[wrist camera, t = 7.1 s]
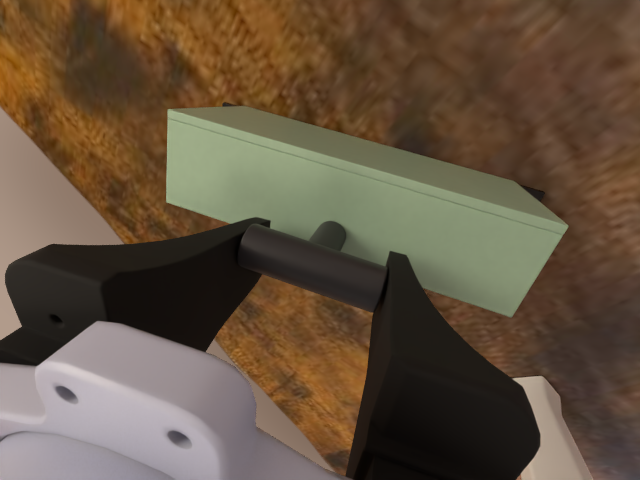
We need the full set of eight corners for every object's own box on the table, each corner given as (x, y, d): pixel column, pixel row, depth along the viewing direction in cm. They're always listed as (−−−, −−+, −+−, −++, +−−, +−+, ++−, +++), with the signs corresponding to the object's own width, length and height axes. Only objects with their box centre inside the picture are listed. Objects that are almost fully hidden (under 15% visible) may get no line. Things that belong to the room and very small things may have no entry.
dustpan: (515, 181, 17) (480, 248, 18) (244, 105, 19) (236, 172, 20) (635, 278, 8) (545, 392, 9) (86, 112, 10) (96, 231, 11)
